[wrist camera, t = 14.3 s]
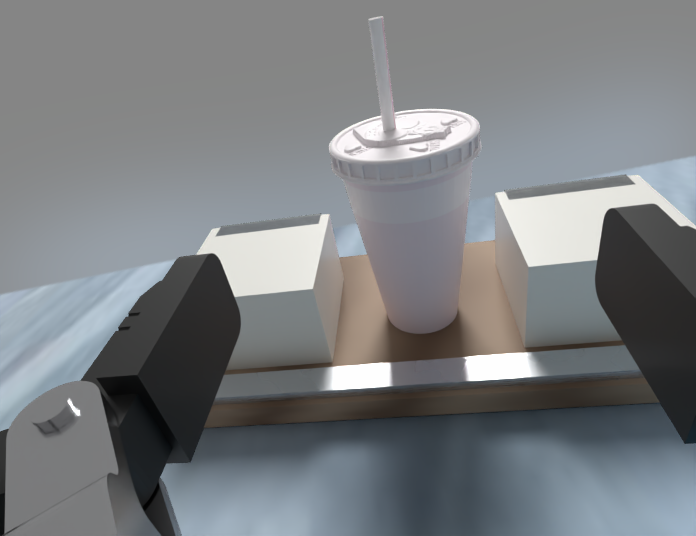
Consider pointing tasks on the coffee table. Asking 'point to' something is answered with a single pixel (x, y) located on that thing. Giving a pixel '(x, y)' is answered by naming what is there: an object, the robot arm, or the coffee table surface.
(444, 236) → the smoothie
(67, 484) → the robot arm
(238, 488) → the coffee table surface
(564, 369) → the rail board
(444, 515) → the coffee table surface
